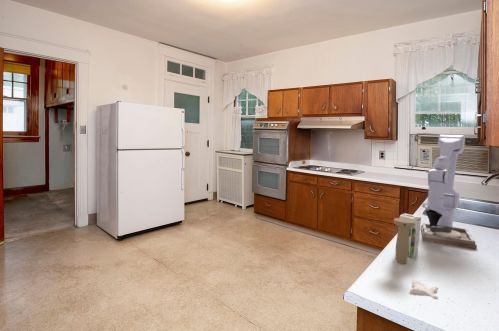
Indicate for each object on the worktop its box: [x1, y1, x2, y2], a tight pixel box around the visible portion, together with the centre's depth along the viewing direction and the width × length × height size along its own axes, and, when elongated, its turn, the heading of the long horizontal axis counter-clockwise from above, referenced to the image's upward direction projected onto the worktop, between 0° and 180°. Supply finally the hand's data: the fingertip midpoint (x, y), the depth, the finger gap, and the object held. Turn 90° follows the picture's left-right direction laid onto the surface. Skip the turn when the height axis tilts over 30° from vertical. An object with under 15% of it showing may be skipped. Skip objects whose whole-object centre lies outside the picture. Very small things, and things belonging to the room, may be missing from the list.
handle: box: [393, 217, 415, 265], centre depth 100 cm, size 5×6×15 cm
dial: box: [430, 226, 461, 238], centre depth 125 cm, size 12×10×3 cm
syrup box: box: [398, 213, 422, 258], centre depth 108 cm, size 6×6×14 cm
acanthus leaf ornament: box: [409, 278, 439, 300], centre depth 83 cm, size 8×7×2 cm
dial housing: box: [420, 222, 478, 250], centre depth 125 cm, size 18×18×3 cm
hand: (433, 227), depth 126 cm, fingers closed, pressing on dial
